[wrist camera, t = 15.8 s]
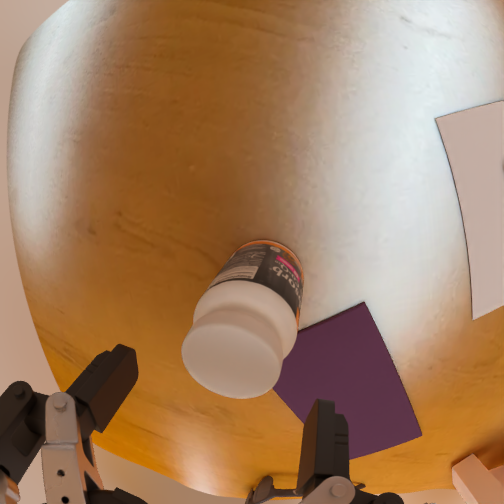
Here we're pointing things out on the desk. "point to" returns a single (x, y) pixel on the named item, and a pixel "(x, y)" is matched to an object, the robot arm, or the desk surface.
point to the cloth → (349, 381)
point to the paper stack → (480, 195)
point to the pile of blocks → (478, 482)
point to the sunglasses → (273, 492)
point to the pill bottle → (246, 321)
